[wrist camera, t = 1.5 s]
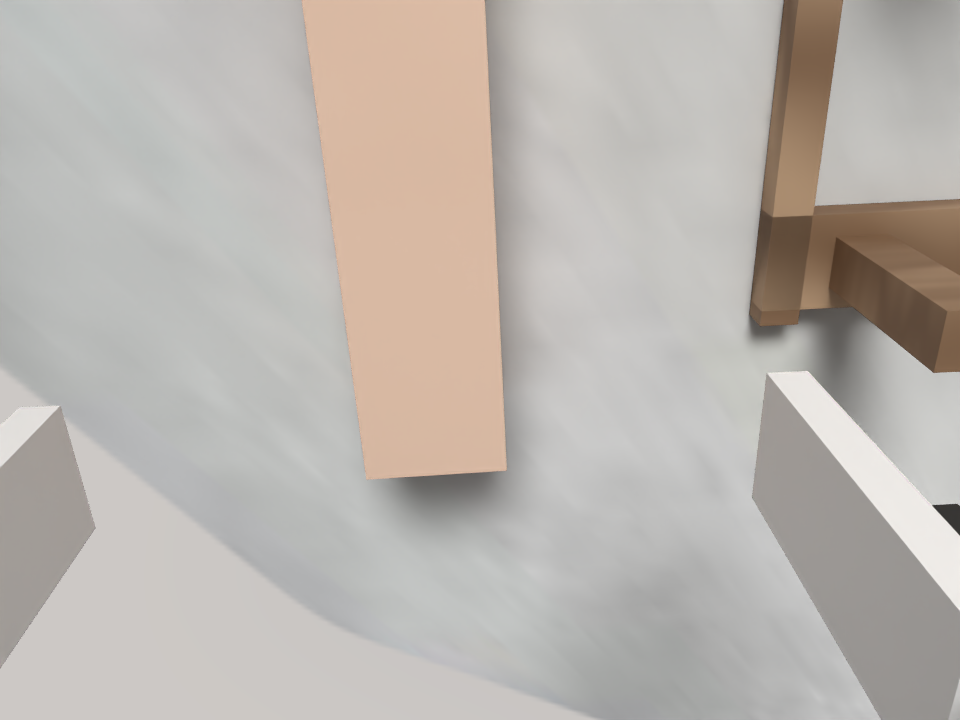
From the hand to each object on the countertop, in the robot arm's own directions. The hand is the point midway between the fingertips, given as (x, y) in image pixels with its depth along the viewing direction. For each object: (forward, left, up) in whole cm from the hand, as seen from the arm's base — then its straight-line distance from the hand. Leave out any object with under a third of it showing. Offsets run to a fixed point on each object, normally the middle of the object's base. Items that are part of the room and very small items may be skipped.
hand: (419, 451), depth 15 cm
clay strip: (-4, 0, -11) cm, 12 cm away
